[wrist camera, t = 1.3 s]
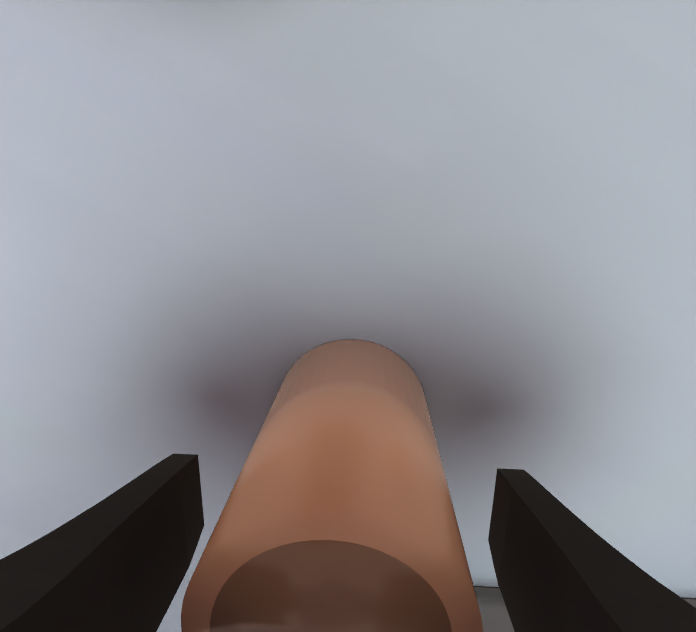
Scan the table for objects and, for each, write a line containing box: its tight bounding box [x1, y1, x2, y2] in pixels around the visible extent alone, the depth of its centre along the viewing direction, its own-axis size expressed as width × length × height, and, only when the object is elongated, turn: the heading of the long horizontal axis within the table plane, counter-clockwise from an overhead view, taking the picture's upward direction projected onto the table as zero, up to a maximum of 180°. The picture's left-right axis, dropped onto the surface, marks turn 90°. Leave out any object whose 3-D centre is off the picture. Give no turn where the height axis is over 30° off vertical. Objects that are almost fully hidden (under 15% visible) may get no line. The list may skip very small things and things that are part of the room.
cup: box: [181, 339, 483, 632], centre depth 11 cm, size 5×5×8 cm
